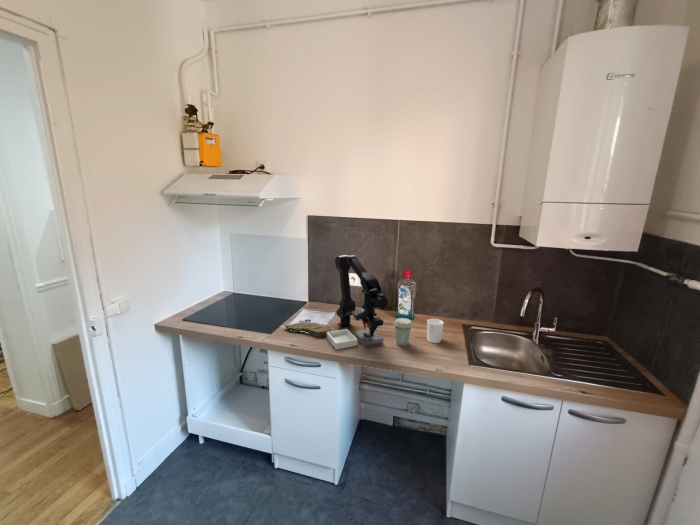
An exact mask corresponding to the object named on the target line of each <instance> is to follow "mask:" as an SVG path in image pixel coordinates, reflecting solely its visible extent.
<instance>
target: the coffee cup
mask: <svg viewBox="0 0 700 525" xmlns="http://www.w3.org/2000/svg"><path fill="white" fill-rule="evenodd" d="M393 324H394V329H395V342H396V345H398V346H400V347H406V346H408V345H409V341H410V337H411V336H410V335H411V330H412V326H413V323H412V320H411V319H409V318H407V317H398V318H396V319H395V321H394V323H393Z"/></svg>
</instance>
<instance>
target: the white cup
mask: <svg viewBox="0 0 700 525" xmlns="http://www.w3.org/2000/svg"><path fill="white" fill-rule="evenodd" d="M443 331H444V321H443V320H441V319H438V318H429V319H427V320H426V340H427V341H428V342H429V343H433V344H439V343H441V341H442V336H443Z"/></svg>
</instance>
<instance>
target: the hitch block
mask: <svg viewBox="0 0 700 525" xmlns="http://www.w3.org/2000/svg"><path fill="white" fill-rule="evenodd" d="M354 336H355V337H356V339H357V342H358V343H359V344H361V345H362V346H363V347H364V348H370V347H374V346H381V345H384V337H382V335H381V334H379V333H378V332H377V331H375V332H374V334H373V335H372V337H368V338H367V337H365V329H362V330H356V331H354Z"/></svg>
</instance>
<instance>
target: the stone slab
mask: <svg viewBox="0 0 700 525" xmlns="http://www.w3.org/2000/svg"><path fill="white" fill-rule="evenodd" d="M284 327H285V329H286V328H287V329H288V330H292V331H295V332H300V331H305V332H308V333H310V334H309V335H311V334H312V336H313V335H314V336H313V337H316V338H323V337H324V338H327V332H331V331H332V329H331V327H330V326H329V325H326V324H324V323H322V324H321V323H318V322H309V321H300V322H296V323H293V324H288V325H287V324H284ZM287 329H286V330H287Z"/></svg>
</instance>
